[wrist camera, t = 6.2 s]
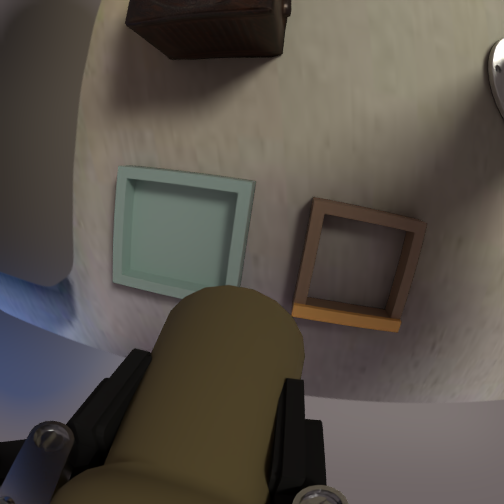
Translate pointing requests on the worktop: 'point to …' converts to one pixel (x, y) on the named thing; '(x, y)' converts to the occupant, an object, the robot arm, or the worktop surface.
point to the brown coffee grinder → (211, 27)
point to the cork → (201, 407)
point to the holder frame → (350, 312)
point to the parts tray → (179, 229)
